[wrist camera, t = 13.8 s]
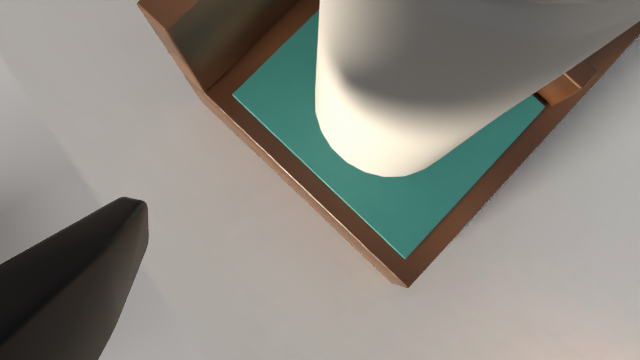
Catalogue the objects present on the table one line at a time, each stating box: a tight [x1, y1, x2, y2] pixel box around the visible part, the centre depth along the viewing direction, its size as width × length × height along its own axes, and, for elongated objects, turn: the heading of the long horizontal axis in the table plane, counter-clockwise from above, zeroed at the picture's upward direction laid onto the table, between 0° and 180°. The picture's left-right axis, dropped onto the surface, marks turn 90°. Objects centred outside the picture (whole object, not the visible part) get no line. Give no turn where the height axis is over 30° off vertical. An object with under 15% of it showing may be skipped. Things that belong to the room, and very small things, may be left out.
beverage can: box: [315, 0, 640, 177], centre depth 12 cm, size 5×5×12 cm
